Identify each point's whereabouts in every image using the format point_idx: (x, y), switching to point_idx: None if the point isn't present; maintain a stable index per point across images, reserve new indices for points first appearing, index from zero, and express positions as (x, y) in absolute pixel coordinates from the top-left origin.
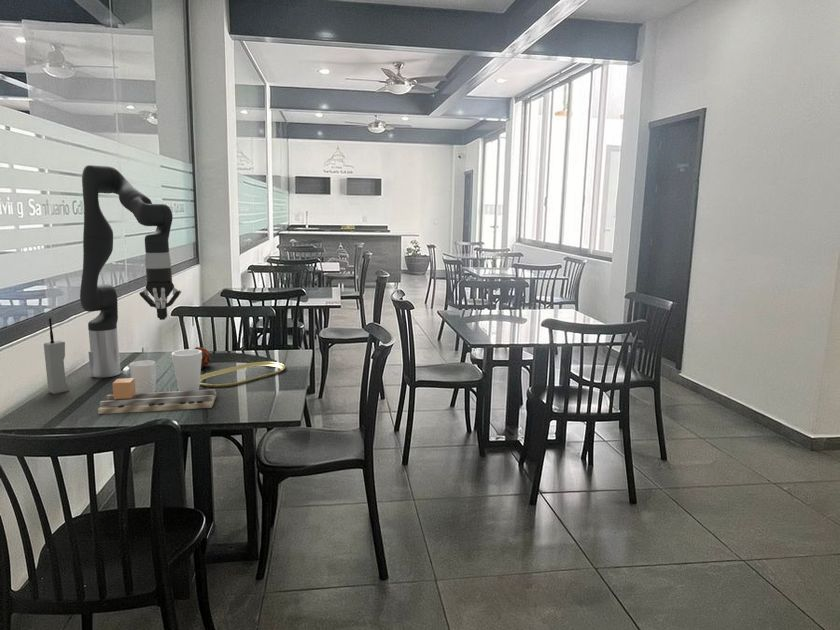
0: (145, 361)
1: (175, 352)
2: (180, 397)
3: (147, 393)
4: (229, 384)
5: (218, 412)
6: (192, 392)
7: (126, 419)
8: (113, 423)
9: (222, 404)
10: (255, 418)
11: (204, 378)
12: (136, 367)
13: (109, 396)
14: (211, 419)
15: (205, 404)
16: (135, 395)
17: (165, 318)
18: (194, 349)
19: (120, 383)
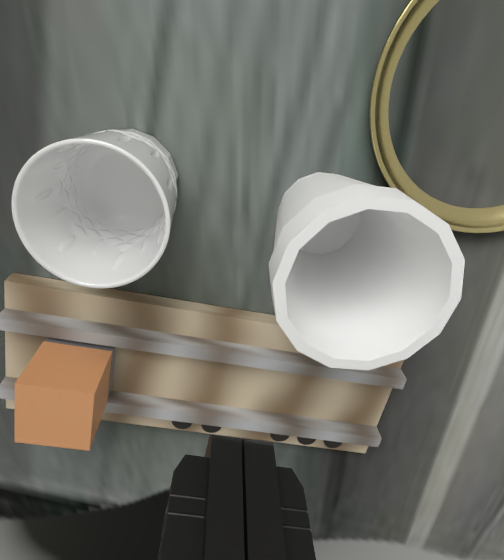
0: (100, 145)
1: (299, 248)
2: (276, 432)
3: (157, 352)
4: (491, 230)
5: (370, 481)
6: (322, 374)
7: (116, 462)
8: (86, 481)
9: (398, 423)
10: (444, 541)
11: (423, 14)
12: (72, 278)
13: (9, 328)
14: (341, 520)
15: (346, 448)
16: (113, 352)
17: (270, 443)
18: (433, 219)
19: (49, 443)
